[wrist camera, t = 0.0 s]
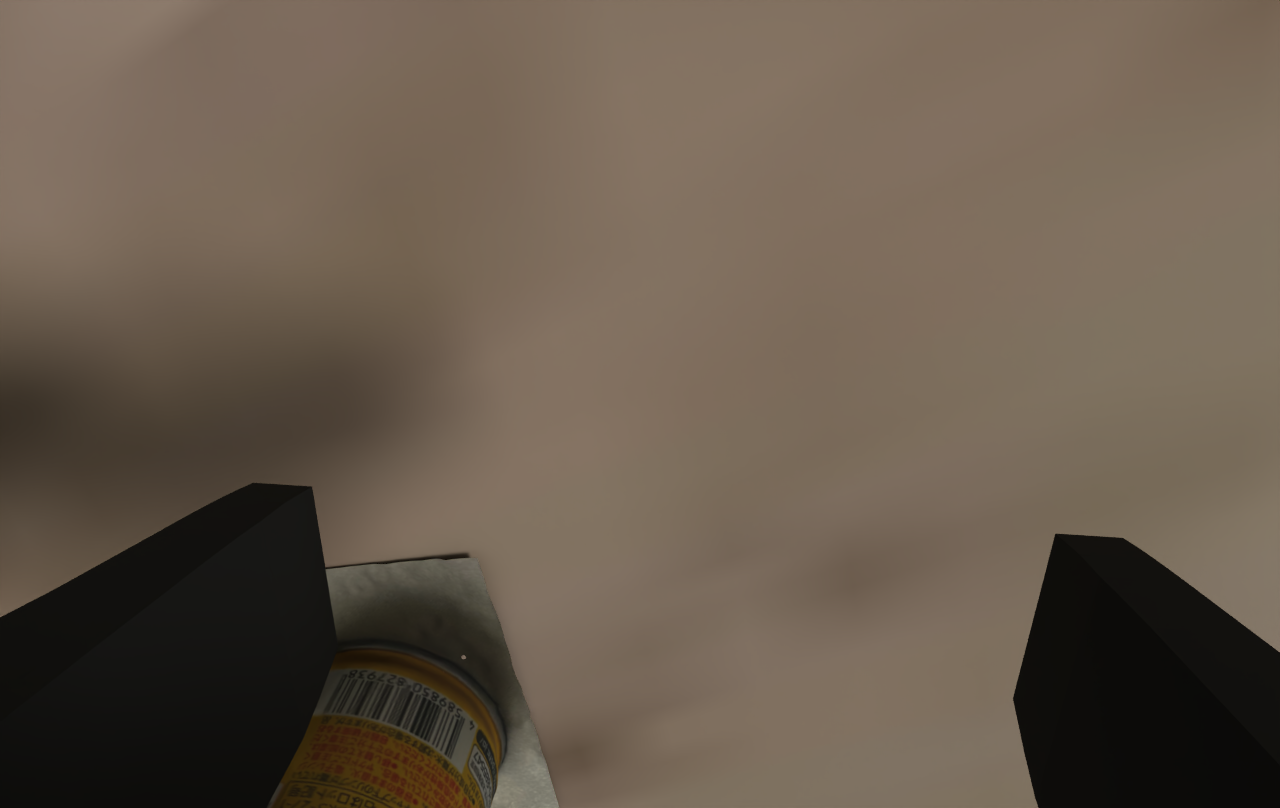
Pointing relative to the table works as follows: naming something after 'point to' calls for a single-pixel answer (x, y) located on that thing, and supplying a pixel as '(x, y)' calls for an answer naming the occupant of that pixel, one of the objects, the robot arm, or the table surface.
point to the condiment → (417, 699)
